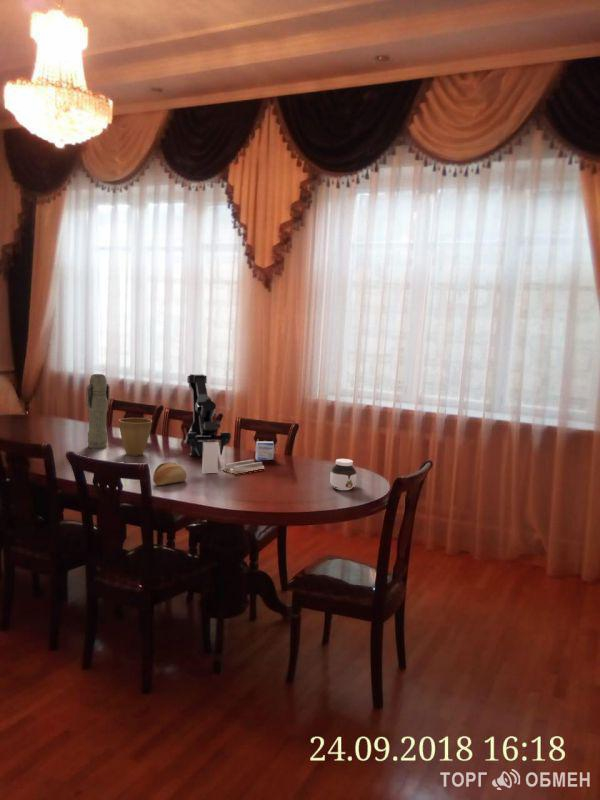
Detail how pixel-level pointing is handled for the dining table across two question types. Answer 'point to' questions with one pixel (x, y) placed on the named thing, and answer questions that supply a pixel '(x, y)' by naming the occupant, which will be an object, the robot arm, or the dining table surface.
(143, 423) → the plant pot
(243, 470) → the track base
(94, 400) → the stone statue
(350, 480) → the spread jar
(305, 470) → the dining table surface
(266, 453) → the medicine box
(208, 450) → the door panel
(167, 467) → the bread roll
